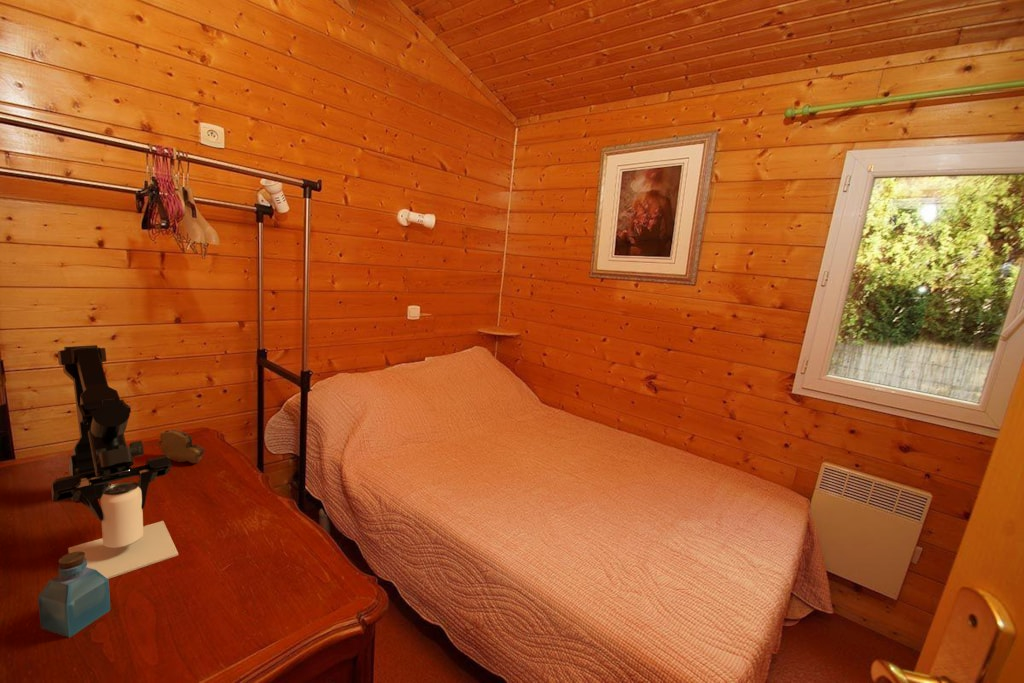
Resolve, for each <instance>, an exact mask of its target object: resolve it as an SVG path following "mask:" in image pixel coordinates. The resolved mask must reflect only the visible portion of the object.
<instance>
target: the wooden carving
mask: <svg viewBox="0 0 1024 683" xmlns="http://www.w3.org/2000/svg"><path fill="white" fill-rule="evenodd" d="M159 438H160V440H159V441H158V442H156V443H155V444H156V446H158V447H160V448H161V450H160V453H161V454H163V456H165V455H166V456H168V457H170V459H171V461H174V462H176V461H177V463H185V462H189V463H191V464H196V463H198V462H199V461H201V460H202V459H203V458H202V457H203V455H204V453H205V449H204V448H203V446H201V445H199V444H193V438H192V436H191V435H190V434H187V433H186V432H184V431H182V430H179V429H171V430H169V429H168V430H167V429H166V430H165V431H162V432H160V435H159Z"/></svg>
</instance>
